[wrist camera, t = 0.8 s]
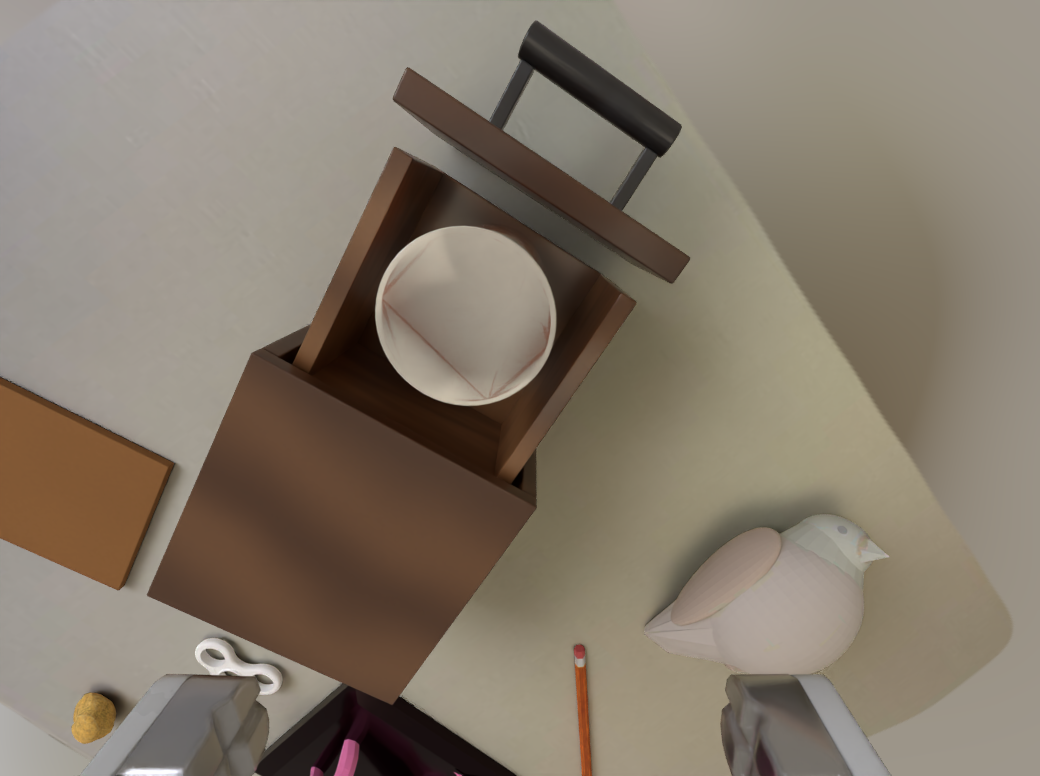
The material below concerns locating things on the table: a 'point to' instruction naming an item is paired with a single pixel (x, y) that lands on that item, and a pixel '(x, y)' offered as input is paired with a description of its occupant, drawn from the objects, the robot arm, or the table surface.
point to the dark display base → (372, 743)
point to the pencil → (583, 709)
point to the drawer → (446, 202)
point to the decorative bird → (773, 599)
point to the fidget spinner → (236, 664)
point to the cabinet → (335, 529)
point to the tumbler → (467, 313)
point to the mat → (74, 487)
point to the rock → (93, 718)
